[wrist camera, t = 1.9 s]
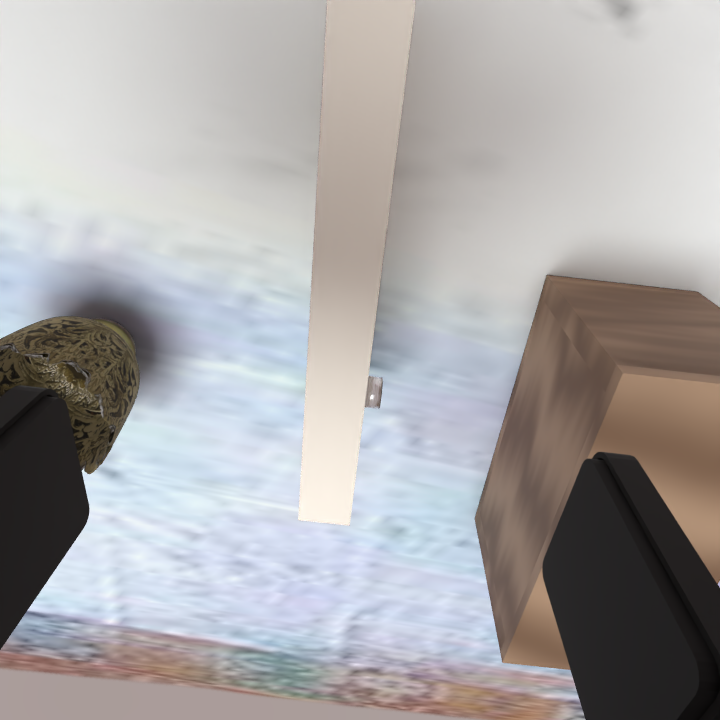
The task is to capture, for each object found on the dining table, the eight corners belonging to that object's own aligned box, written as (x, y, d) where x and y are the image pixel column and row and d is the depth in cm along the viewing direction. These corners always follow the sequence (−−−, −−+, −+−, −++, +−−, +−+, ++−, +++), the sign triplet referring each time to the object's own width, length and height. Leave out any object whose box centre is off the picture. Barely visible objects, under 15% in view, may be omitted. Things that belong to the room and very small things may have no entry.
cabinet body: (546, 274, 27) (623, 373, 18) (697, 291, 27) (845, 397, 18) (474, 518, 36) (502, 662, 27) (588, 530, 36) (652, 678, 27)
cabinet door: (359, -5, 21) (331, -75, 11) (425, 3, 21) (461, -60, 11) (329, 365, 30) (298, 519, 20) (376, 370, 30) (370, 527, 20)
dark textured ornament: (198, 353, 30) (141, 438, 23) (120, 413, 33) (48, 506, 26) (97, 256, 28) (-1, 319, 21) (20, 329, 30) (-91, 408, 23)
